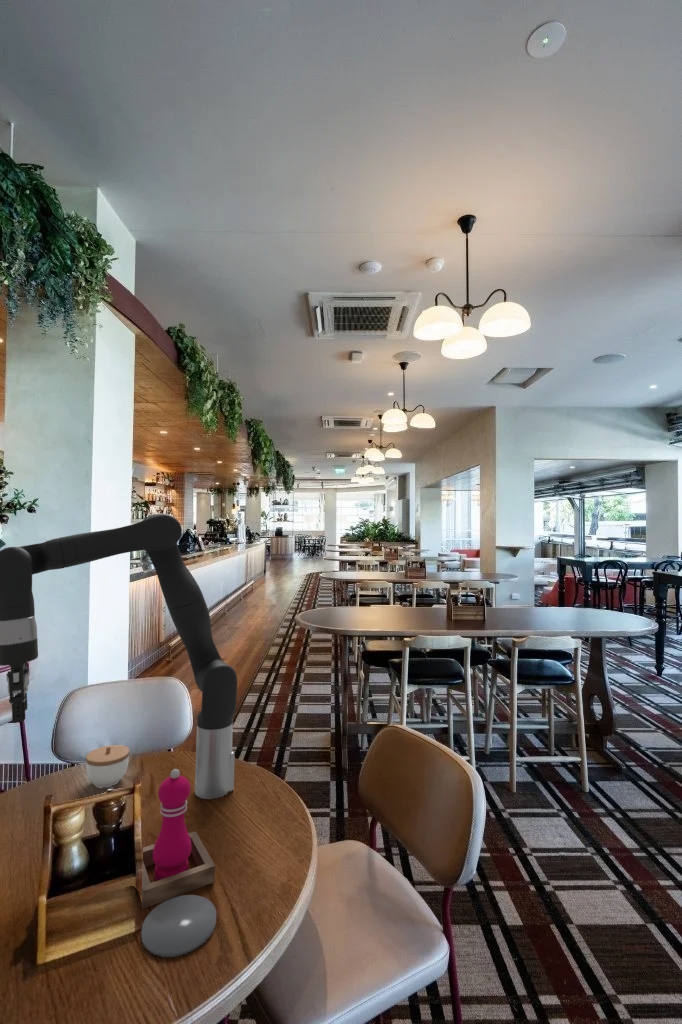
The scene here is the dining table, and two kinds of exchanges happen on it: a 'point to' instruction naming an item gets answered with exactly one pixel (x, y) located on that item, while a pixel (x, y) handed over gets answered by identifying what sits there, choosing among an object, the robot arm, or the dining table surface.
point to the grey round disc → (178, 925)
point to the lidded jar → (107, 765)
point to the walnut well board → (177, 875)
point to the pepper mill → (172, 828)
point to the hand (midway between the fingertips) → (20, 716)
